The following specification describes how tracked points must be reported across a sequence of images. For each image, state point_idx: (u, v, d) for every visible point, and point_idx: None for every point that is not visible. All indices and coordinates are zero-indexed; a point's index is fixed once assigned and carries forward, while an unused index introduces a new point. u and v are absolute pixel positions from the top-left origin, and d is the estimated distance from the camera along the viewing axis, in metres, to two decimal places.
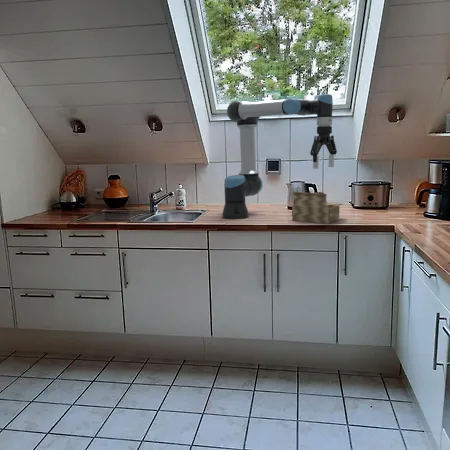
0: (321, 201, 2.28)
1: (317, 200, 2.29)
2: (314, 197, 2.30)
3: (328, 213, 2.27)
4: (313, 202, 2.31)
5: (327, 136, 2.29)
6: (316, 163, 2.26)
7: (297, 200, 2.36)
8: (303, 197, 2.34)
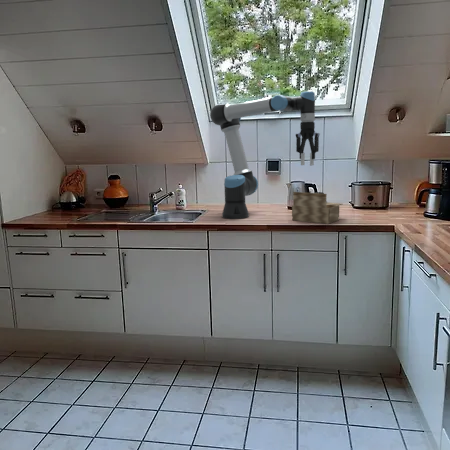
0: (321, 201, 2.28)
1: (317, 200, 2.29)
2: (314, 197, 2.30)
3: (328, 213, 2.27)
4: (313, 202, 2.31)
5: (309, 130, 2.39)
6: None
7: (297, 200, 2.36)
8: (303, 197, 2.34)
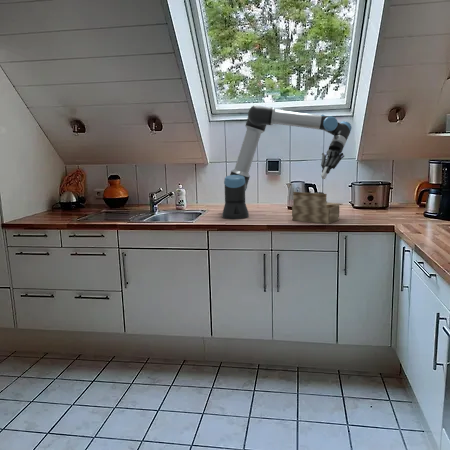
0: (321, 201, 2.28)
1: (317, 200, 2.29)
2: (314, 197, 2.30)
3: (328, 213, 2.27)
4: (313, 202, 2.31)
5: (337, 149, 2.47)
6: None
7: (297, 200, 2.36)
8: (303, 197, 2.34)
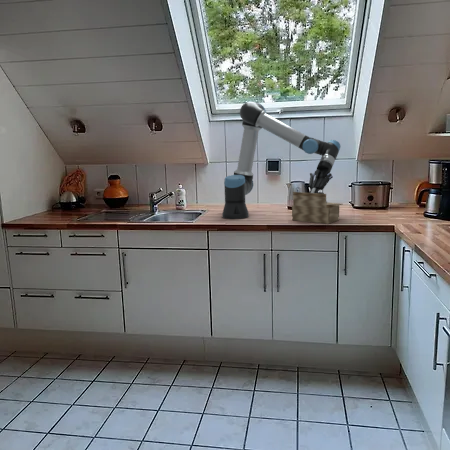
0: (321, 201, 2.27)
1: (317, 200, 2.29)
2: (314, 197, 2.30)
3: (328, 213, 2.27)
4: (313, 202, 2.30)
5: (325, 169, 2.39)
6: None
7: (297, 200, 2.36)
8: (303, 197, 2.34)
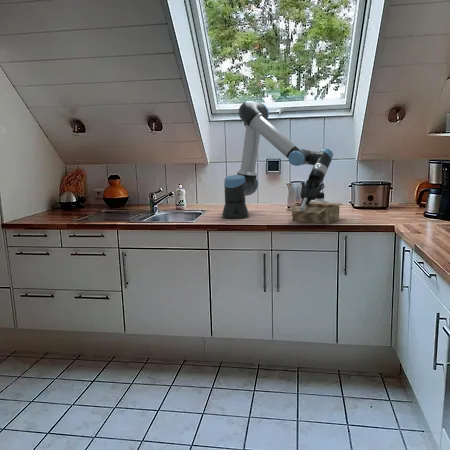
0: None
1: None
2: None
3: (328, 213, 2.27)
4: None
5: (317, 178, 2.32)
6: None
7: None
8: None
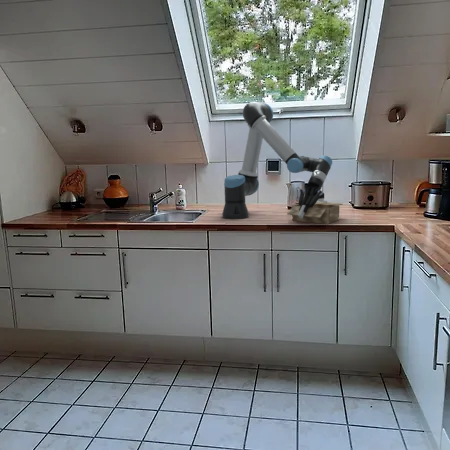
0: None
1: None
2: None
3: (328, 213, 2.27)
4: None
5: (316, 186, 2.32)
6: None
7: None
8: None
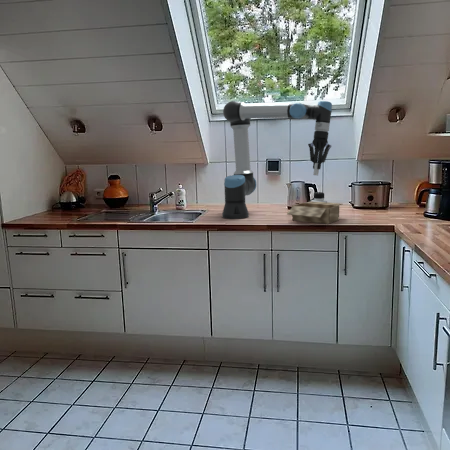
0: None
1: None
2: None
3: (328, 213, 2.27)
4: None
5: (322, 139, 2.38)
6: None
7: None
8: None
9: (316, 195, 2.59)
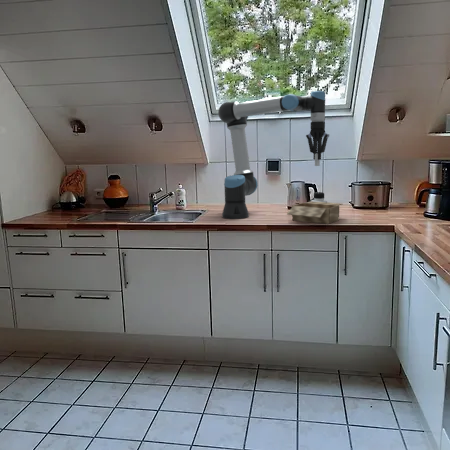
0: None
1: None
2: None
3: (328, 213, 2.27)
4: None
5: (319, 129, 2.37)
6: None
7: None
8: None
9: (316, 195, 2.59)
